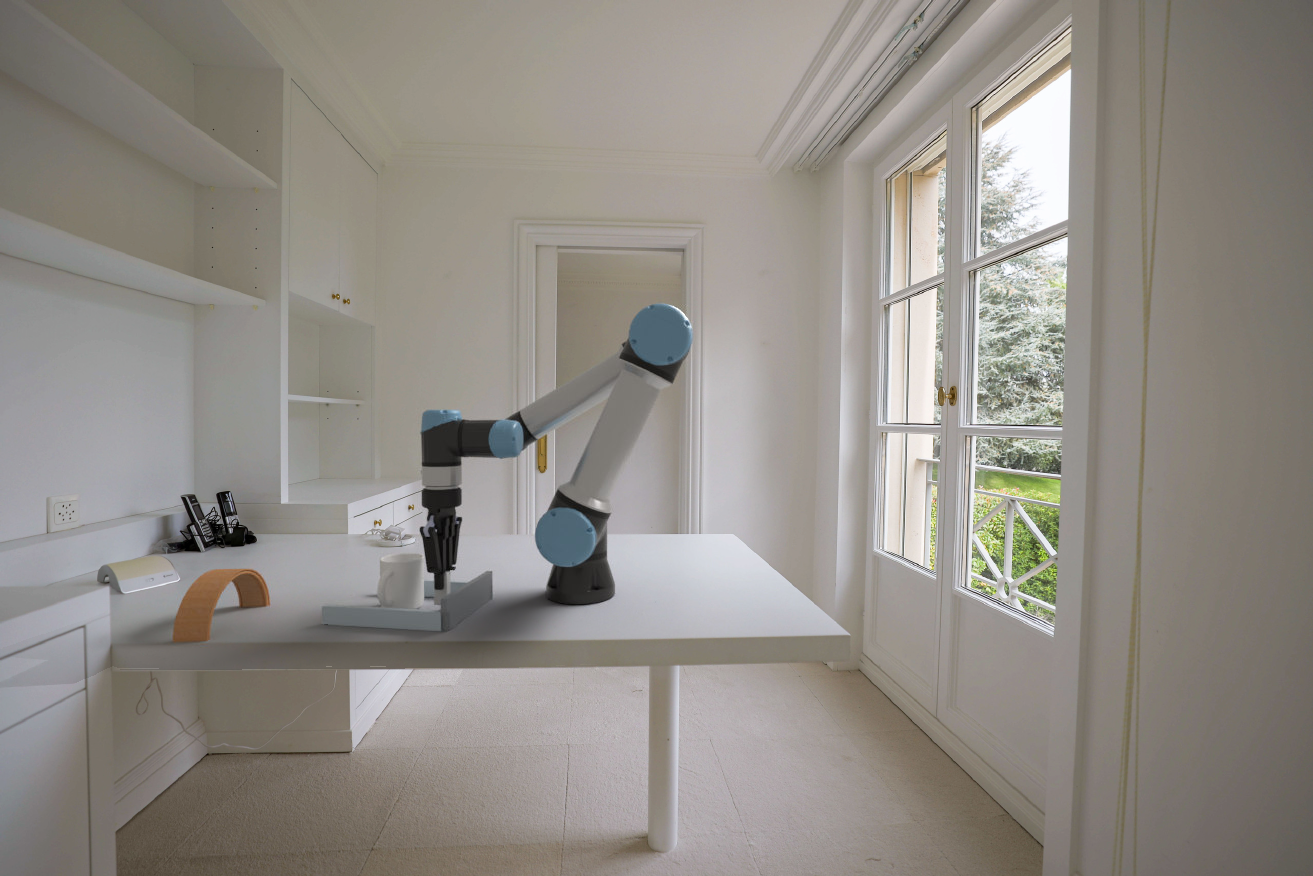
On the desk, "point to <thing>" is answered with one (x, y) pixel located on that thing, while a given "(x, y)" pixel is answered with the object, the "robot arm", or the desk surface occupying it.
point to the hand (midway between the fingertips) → (442, 603)
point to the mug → (401, 581)
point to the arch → (216, 600)
